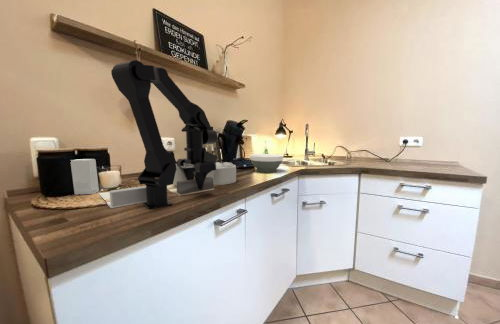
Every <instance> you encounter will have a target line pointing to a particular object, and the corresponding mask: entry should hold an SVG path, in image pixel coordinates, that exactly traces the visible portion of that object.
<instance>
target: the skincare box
mask: <svg viewBox="0 0 500 324" xmlns="http://www.w3.org/2000/svg"><path fill="white" fill-rule="evenodd" d="M70 161H71V162H70V168H71V177H72V184H73V185H72V186H73V192H74V193H73V194H74V195H75V196H76V195H77V196H78V195H79V194H80V195H94V194H97V193H99V192H98V191H100V187H99V180H98V169H97V162H96V159H95V158H82V159H81V158H80V159H78V158H77V159H70ZM96 192H97V193H96ZM93 193H94V194H93Z"/></svg>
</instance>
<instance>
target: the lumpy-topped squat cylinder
mask: <svg viewBox="0 0 500 324" xmlns="http://www.w3.org/2000/svg"><path fill="white" fill-rule="evenodd" d="M207 177H210V178H213V186H223V185H231V184H234V183H236V182H237V166H236V164H233V163H232V162H227V161H225V162H224V161H223V162H218V161H216V170H213V171H211V172H209V173H208V174H207V176H206V178H207Z"/></svg>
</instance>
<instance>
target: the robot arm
mask: <svg viewBox="0 0 500 324" xmlns="http://www.w3.org/2000/svg"><path fill="white" fill-rule="evenodd" d="M111 76H112V77H111V78H112V80H113V82H114V84H115V85H116V87H117V89H118V91H119V92H120V93H121V94H122V95H123V97H125V98H126V100H127V101H128V102H129V105H130V108H131V112H132V114H133V117H134V120H135V124H136V126H137V129H138V132H139V135H140V138H141V141H142V143H143V148H145V155H144V159H143V160H144V161H143V162H144V169H143V170H142V172H141V173H140V174H139V175H138V177H137V181H138V183H139V185H144V186H146V199H147V202H143V203H142V206H144V207H145V208H147V209H148V210H153V209H157V208H163V207H168V206H172V205H173V202H171V201H169V199H168V190H167V185H171V184H173V182H174V177H175V173H176V170H177V168H176V165H177V166H178V167H181V166H182V168H180V169H181V171H182V172H183V174H184V176H185V178H186V180H192V179H195V180H196V183H197V186H198V189H199V190H201V189H202V188H203V184H204V181H205V178H207V174H208V173H209V172H211V171H213V170H216V162H218V157H219V155H216V154H213V153H211V152H209V151H207V148H206V147H204V145H213V144H216V142H217V141H218V138H219V137H218V133H217V132H216V130H215V129H214V126H211V124H210V122H209V120H208V118H207V117H208V116H207V115H206V113H205V111H204V109H203V108H202V107H200V106H199V105H198V104H196V103H194V102H193V101H191V100H189V99H188V97H187V96H186V94H184V93H183V91H182V90H181V89H180V88H179V86H178V85H177V84H176V82H175V81H174V80H173V79H172V78H171V77H170V75H169V73H168V71H167V70H166V68H163V67H158V66H155V65H149V64H144V63H143V62H141V61H140V60H138V59H137V60H135V59H134V60H133V59H132V60H130V61H125V62H120V63H116V64H115V65H114V66H113V68H112V69H111ZM152 85H154V86H155V88H157V90H158V91H159V92H160V93H161V94H162V95H163V96H164V97H165V98H166V99H167V100H168V101H169V102H170V104H171V105H173V107H174V108H175V109H176V110H177V112H178V116H179V118H180V120H181V121H182V122H183V124H185V125H184V126H183V127H182V129H181V132H184V133H185V141H186V142H185V143H186V147H184V148H183V149H184V151H186V157H185V158H178V159H177V160H176V158H175V153H174V151H173V150H167V149H166V148H165V146H164V143H163V140H162V137H161V136H162V135H161V133H160V129H159V126H158V124H157V121H156V120H157V119H156V117H155V114H154V110H153V108H152V104H151V101H150V97H149V96H150V91H151V88H152Z"/></svg>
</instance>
